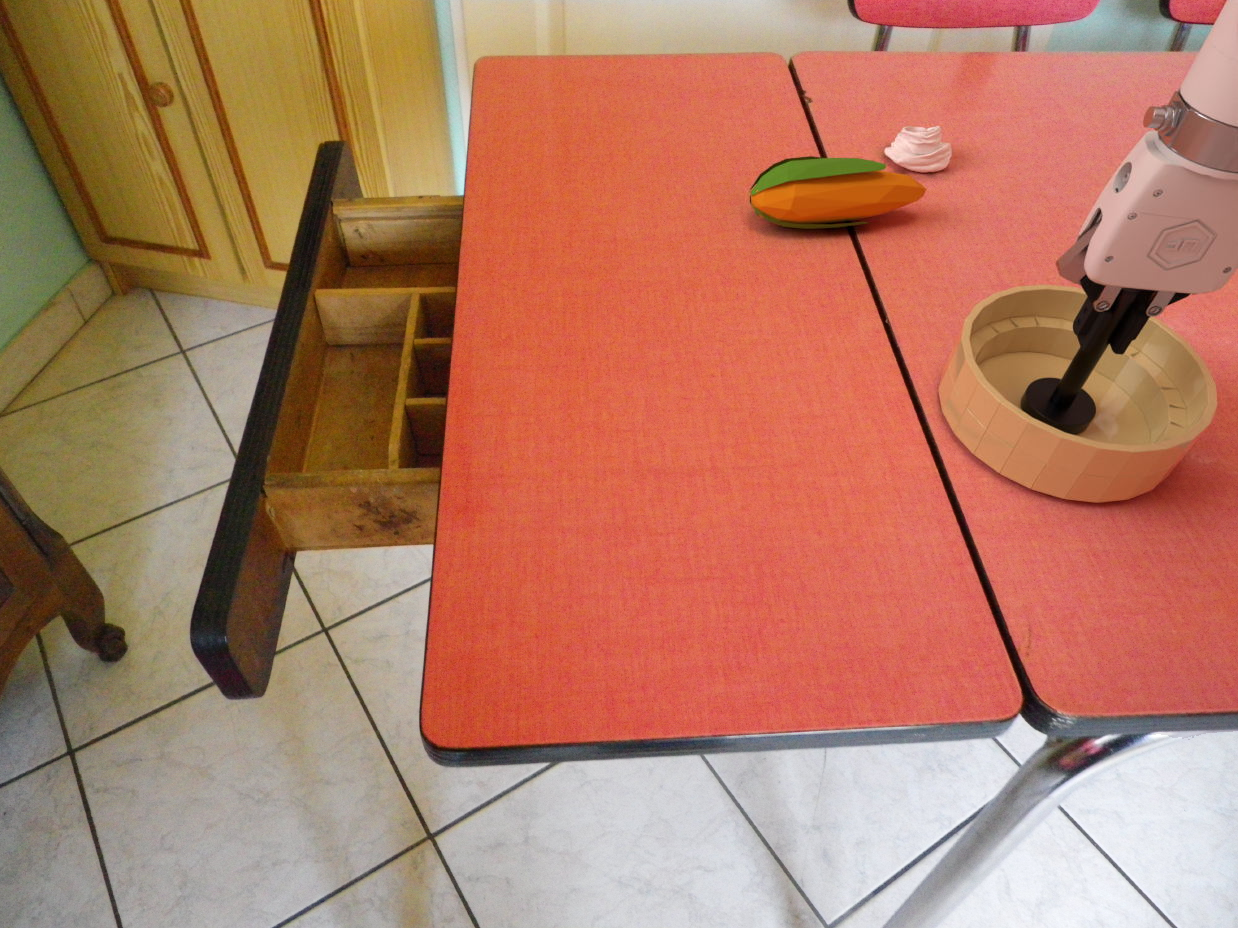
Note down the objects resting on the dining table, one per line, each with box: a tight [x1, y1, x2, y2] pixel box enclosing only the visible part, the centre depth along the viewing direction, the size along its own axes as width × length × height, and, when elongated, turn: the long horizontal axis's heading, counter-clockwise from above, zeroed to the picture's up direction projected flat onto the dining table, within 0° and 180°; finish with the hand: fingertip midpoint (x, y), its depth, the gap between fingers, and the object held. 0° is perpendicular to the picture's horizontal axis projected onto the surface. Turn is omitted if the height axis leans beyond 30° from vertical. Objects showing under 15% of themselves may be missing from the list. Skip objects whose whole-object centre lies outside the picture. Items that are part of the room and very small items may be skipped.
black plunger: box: [1021, 287, 1142, 435], centre depth 71 cm, size 6×6×14 cm
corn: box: [749, 155, 927, 230], centre depth 94 cm, size 7×8×20 cm
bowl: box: [938, 284, 1219, 504], centre depth 74 cm, size 20×20×7 cm
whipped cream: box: [883, 125, 953, 174], centre depth 104 cm, size 8×7×5 cm
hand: (1098, 340), depth 70 cm, fingers closed on black plunger
